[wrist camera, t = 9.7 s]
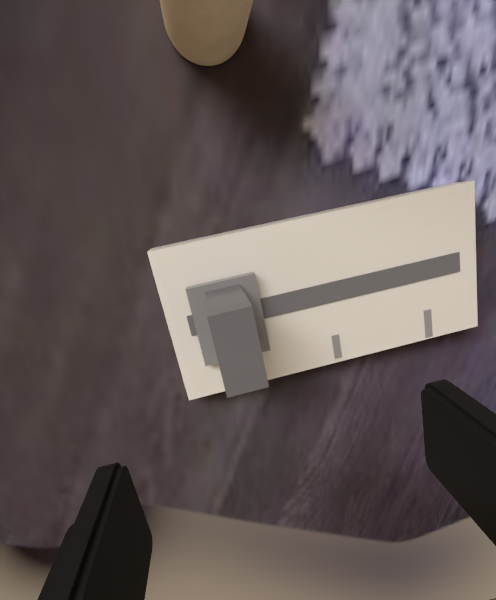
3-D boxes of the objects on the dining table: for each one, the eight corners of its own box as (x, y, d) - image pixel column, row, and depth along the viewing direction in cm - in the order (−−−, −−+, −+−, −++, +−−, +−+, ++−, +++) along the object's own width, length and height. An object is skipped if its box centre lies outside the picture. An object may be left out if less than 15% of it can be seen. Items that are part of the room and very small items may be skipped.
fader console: (451, 183, 28) (475, 180, 26) (456, 317, 32) (478, 326, 29) (151, 248, 26) (146, 251, 24) (189, 385, 30) (189, 401, 27)
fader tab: (253, 271, 25) (272, 292, 19) (268, 346, 27) (291, 389, 20) (185, 287, 25) (181, 313, 18) (205, 361, 26) (207, 411, 20)
